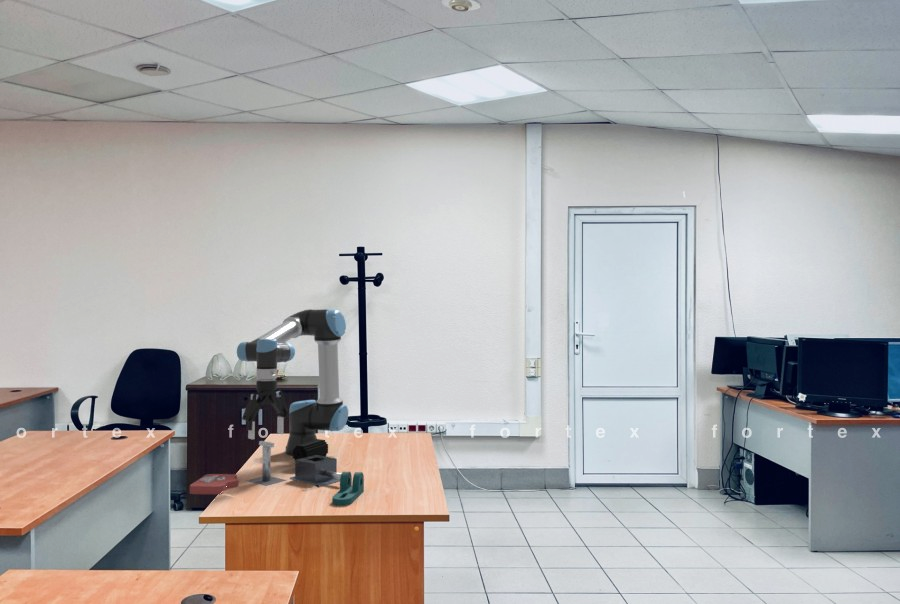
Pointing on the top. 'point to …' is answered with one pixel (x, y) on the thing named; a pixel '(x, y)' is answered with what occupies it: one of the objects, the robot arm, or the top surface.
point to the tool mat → (266, 483)
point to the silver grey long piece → (266, 460)
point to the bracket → (349, 488)
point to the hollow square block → (316, 470)
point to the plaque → (214, 484)
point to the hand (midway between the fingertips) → (266, 436)
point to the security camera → (310, 449)
